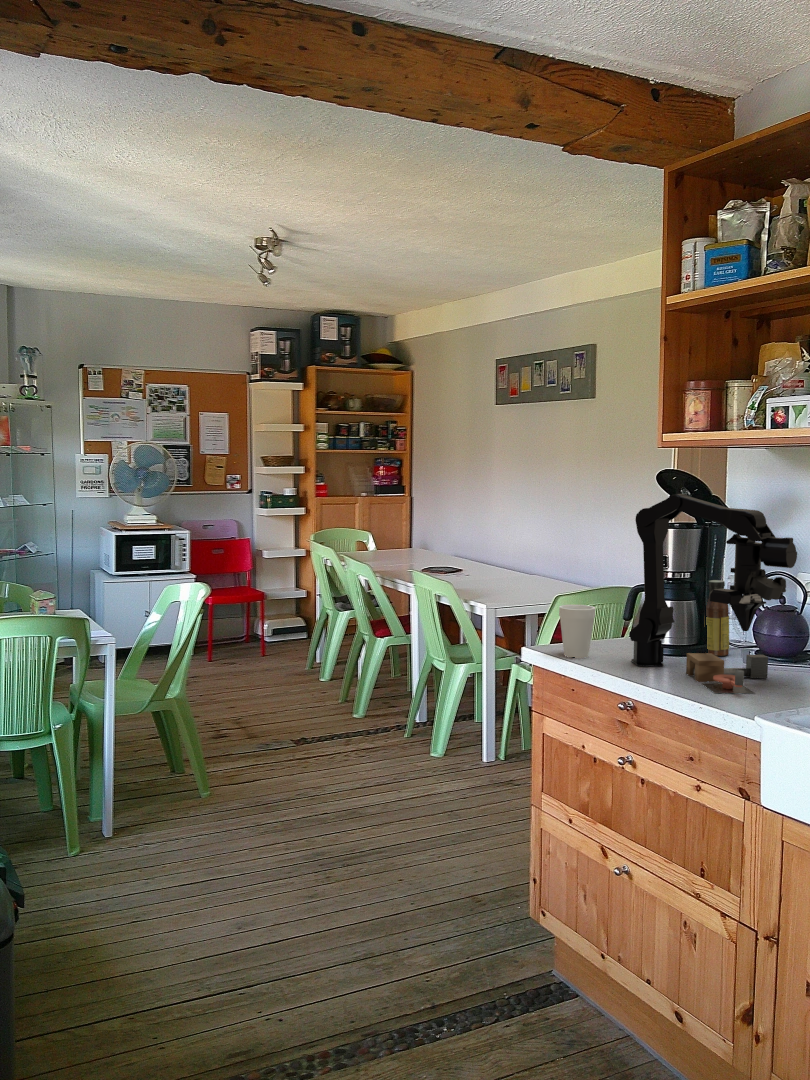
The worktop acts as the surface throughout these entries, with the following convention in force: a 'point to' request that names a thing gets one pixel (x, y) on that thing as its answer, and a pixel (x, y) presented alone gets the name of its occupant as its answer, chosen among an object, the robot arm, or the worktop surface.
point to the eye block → (704, 666)
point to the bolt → (751, 667)
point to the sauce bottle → (717, 623)
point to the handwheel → (730, 679)
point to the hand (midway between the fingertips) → (745, 630)
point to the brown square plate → (718, 689)
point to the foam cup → (576, 629)
